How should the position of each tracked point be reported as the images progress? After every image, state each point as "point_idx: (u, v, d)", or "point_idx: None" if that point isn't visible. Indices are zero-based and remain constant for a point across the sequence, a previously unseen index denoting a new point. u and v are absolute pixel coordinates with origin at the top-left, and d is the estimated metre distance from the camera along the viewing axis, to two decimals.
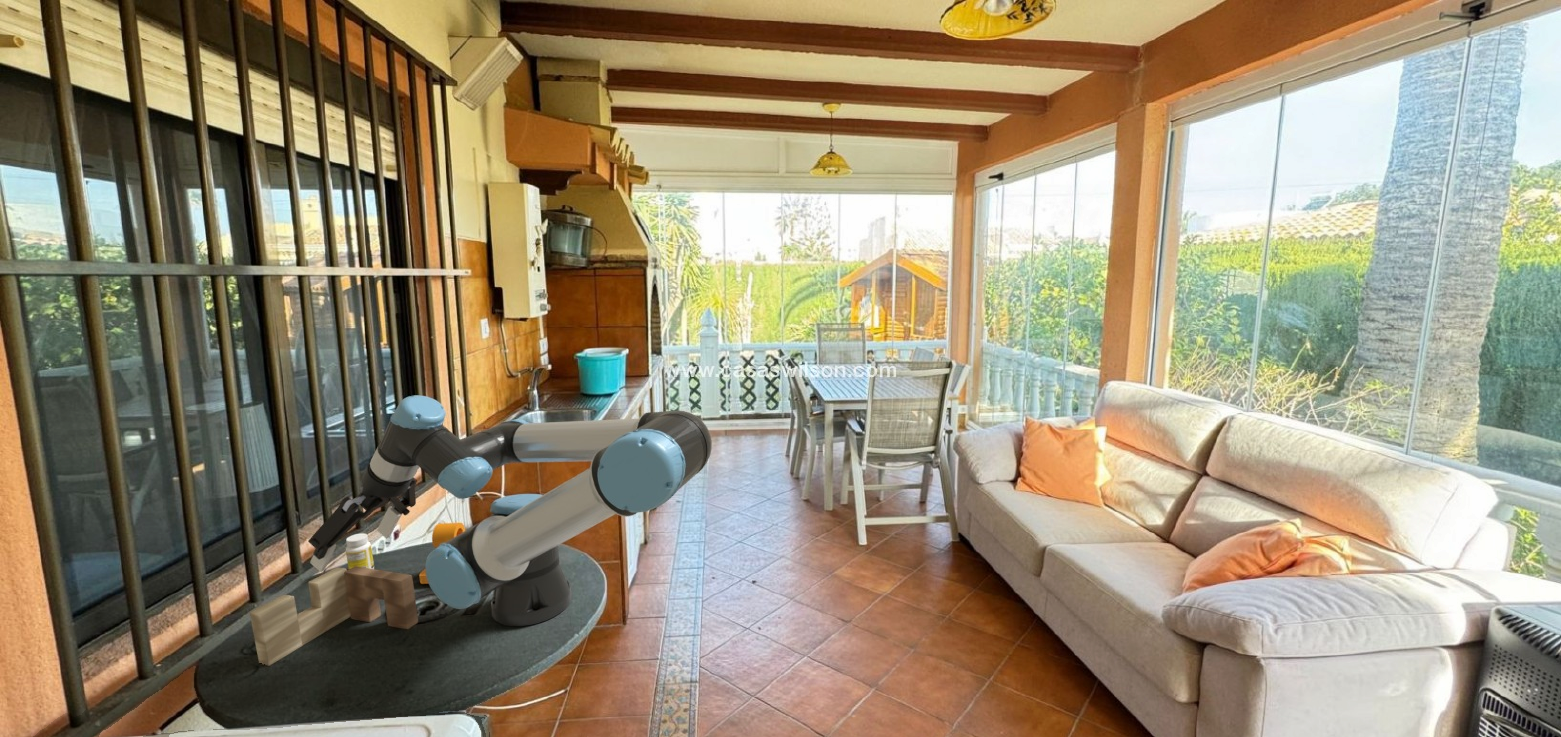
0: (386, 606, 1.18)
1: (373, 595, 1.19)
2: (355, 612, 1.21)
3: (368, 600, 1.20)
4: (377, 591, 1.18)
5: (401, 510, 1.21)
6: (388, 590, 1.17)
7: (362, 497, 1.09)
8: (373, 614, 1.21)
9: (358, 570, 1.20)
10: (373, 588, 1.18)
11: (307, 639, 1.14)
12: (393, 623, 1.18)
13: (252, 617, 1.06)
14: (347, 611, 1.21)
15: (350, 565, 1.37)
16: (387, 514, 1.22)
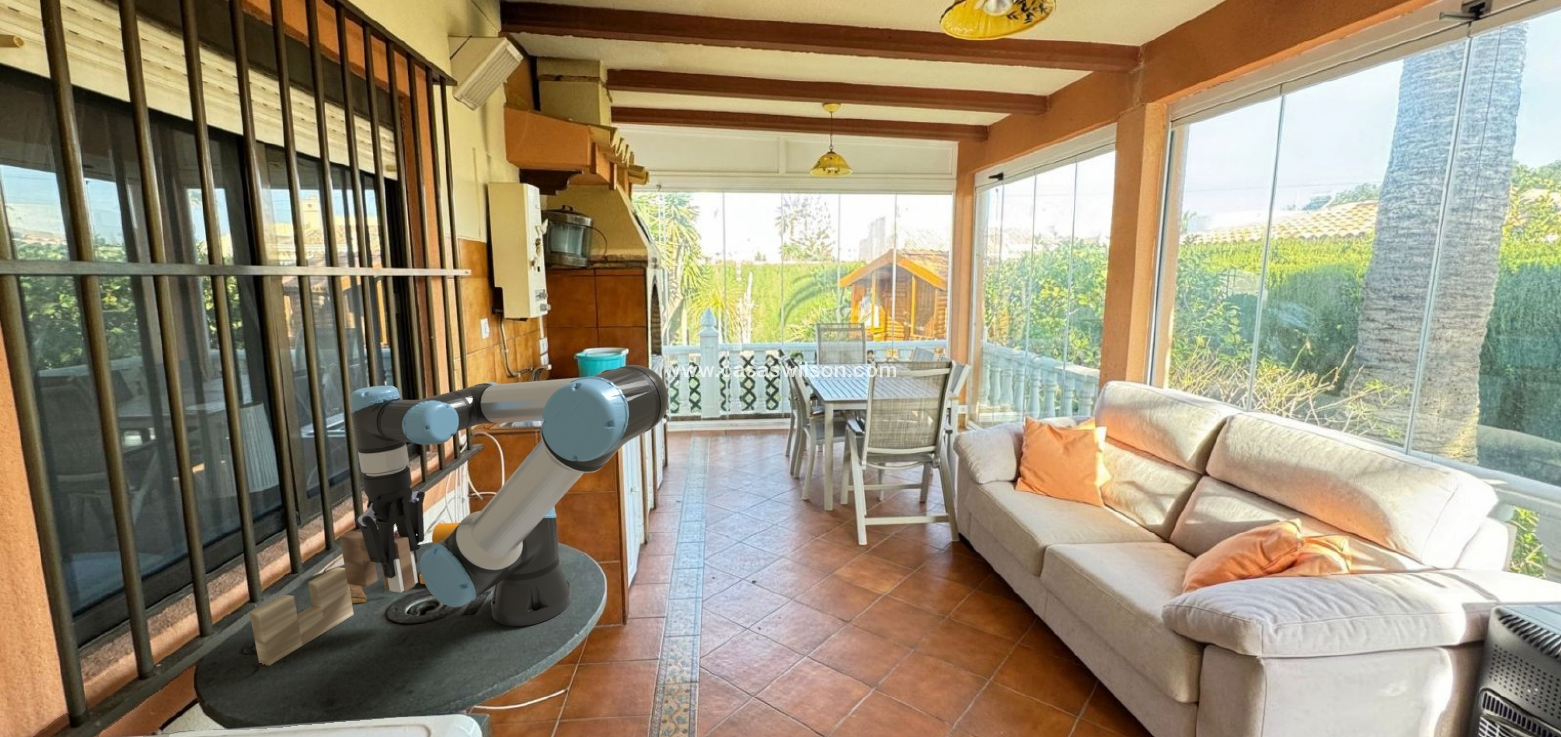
0: (382, 569, 1.17)
1: (369, 559, 1.17)
2: (352, 576, 1.19)
3: (364, 565, 1.18)
4: None
5: (411, 542, 1.18)
6: None
7: (370, 507, 1.11)
8: (370, 579, 1.19)
9: (354, 534, 1.19)
10: None
11: (307, 639, 1.14)
12: None
13: (252, 617, 1.06)
14: (347, 611, 1.21)
15: None
16: None
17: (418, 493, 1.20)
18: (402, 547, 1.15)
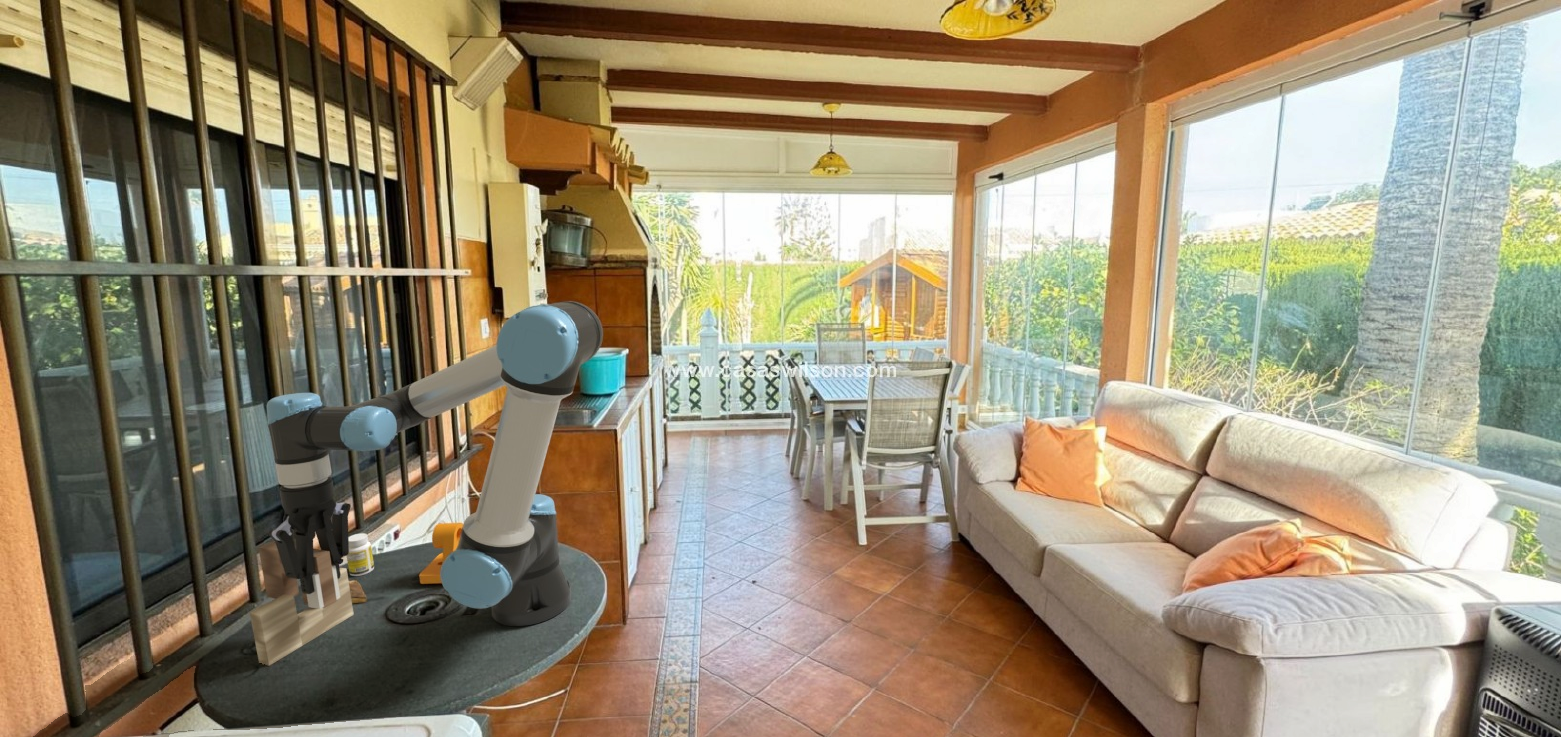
0: None
1: None
2: (271, 589, 1.14)
3: (284, 578, 1.13)
4: None
5: (333, 556, 1.13)
6: None
7: (286, 520, 1.05)
8: (290, 592, 1.14)
9: (274, 545, 1.14)
10: None
11: (307, 639, 1.14)
12: None
13: (252, 617, 1.06)
14: (347, 611, 1.21)
15: (350, 565, 1.37)
16: None
17: (343, 505, 1.14)
18: (322, 561, 1.10)
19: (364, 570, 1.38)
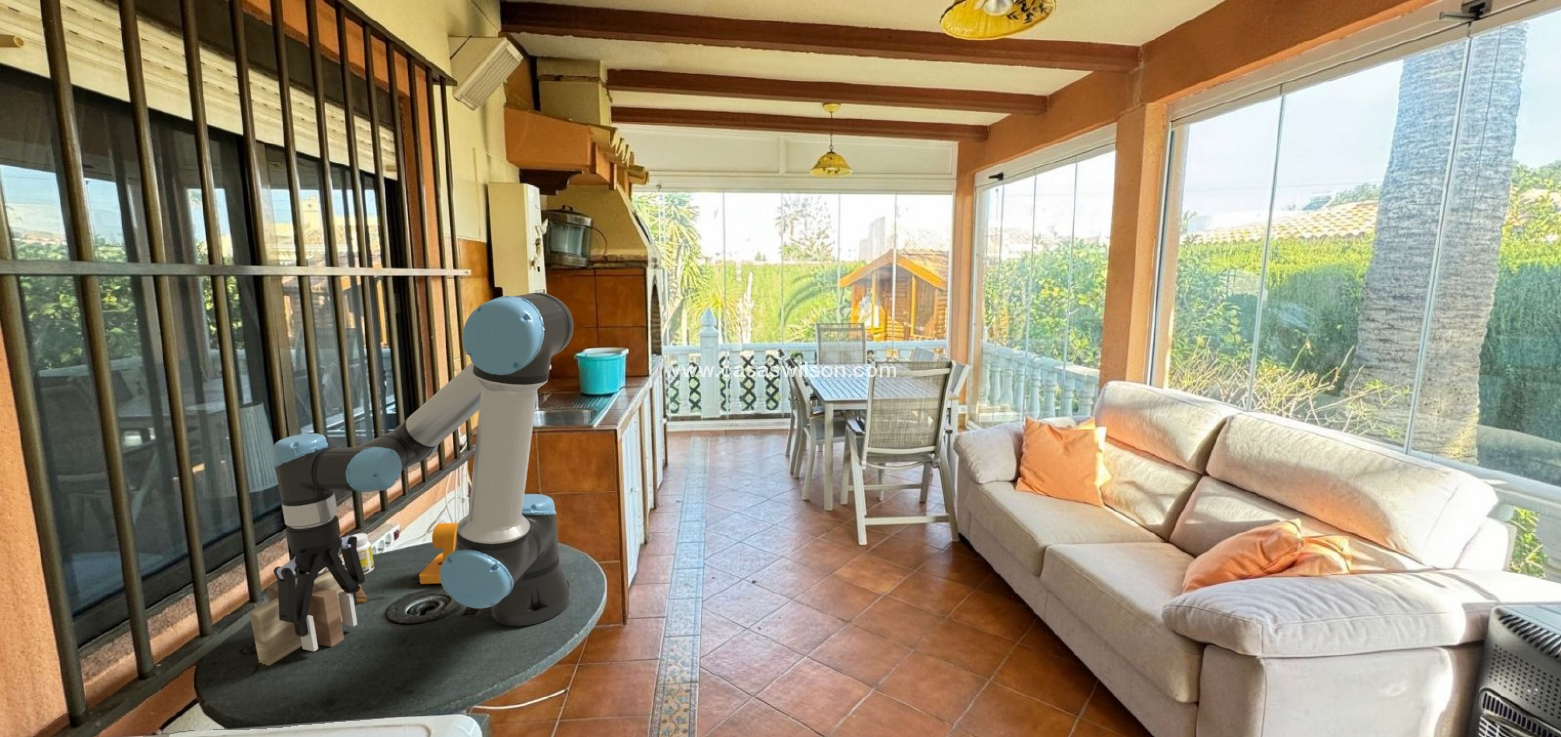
0: None
1: None
2: None
3: None
4: None
5: (350, 585, 1.16)
6: (311, 606, 1.12)
7: (293, 559, 1.07)
8: None
9: None
10: None
11: None
12: (317, 641, 1.13)
13: (252, 617, 1.06)
14: None
15: None
16: (340, 601, 1.16)
17: (349, 539, 1.16)
18: (329, 601, 1.12)
19: (364, 570, 1.38)
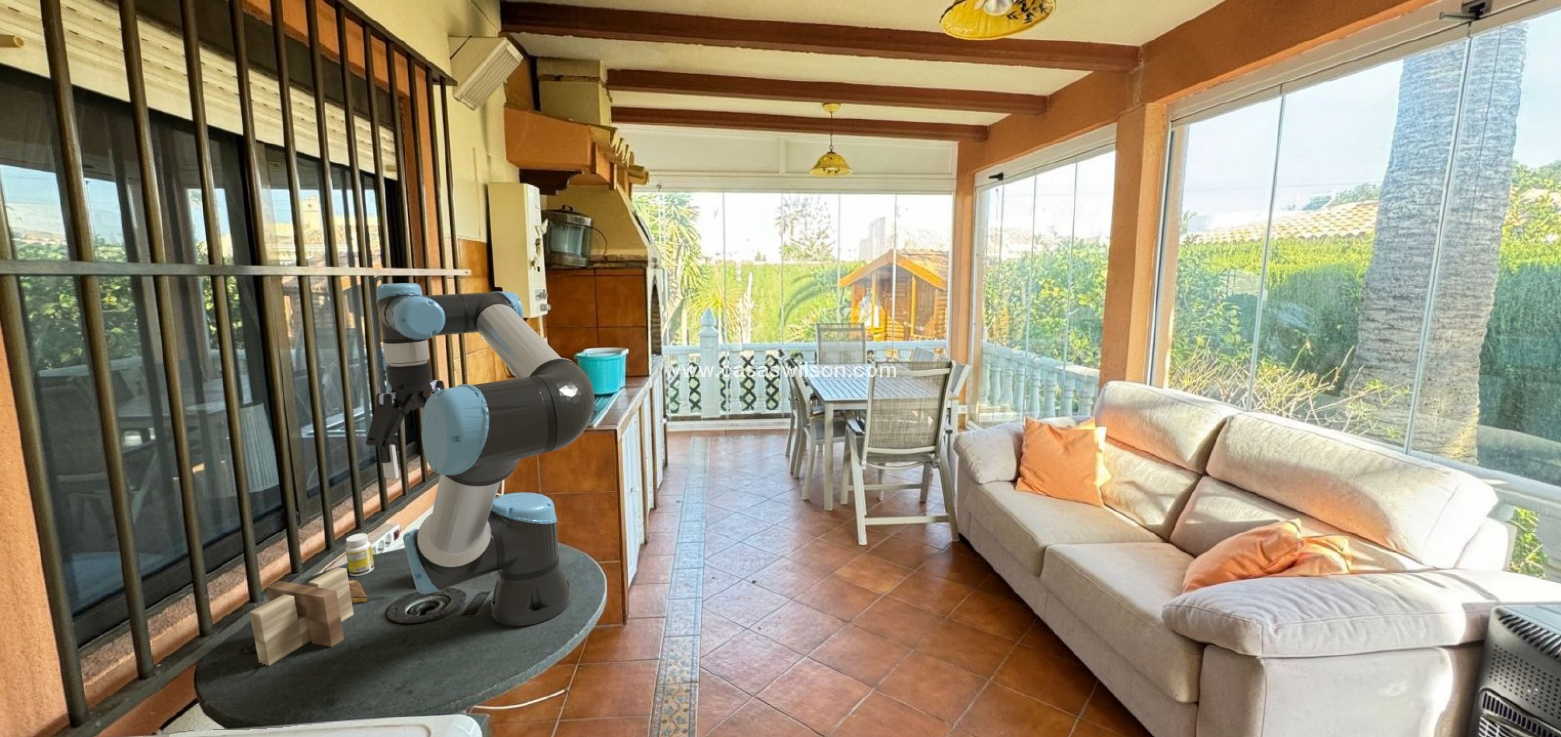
0: (309, 623, 1.13)
1: None
2: None
3: None
4: (300, 607, 1.13)
5: None
6: (311, 606, 1.12)
7: (394, 392, 1.17)
8: None
9: (282, 585, 1.15)
10: (296, 604, 1.13)
11: (307, 639, 1.14)
12: (317, 641, 1.13)
13: (252, 617, 1.06)
14: (347, 611, 1.21)
15: (350, 565, 1.37)
16: None
17: (437, 383, 1.26)
18: (329, 601, 1.12)
19: (364, 570, 1.38)
